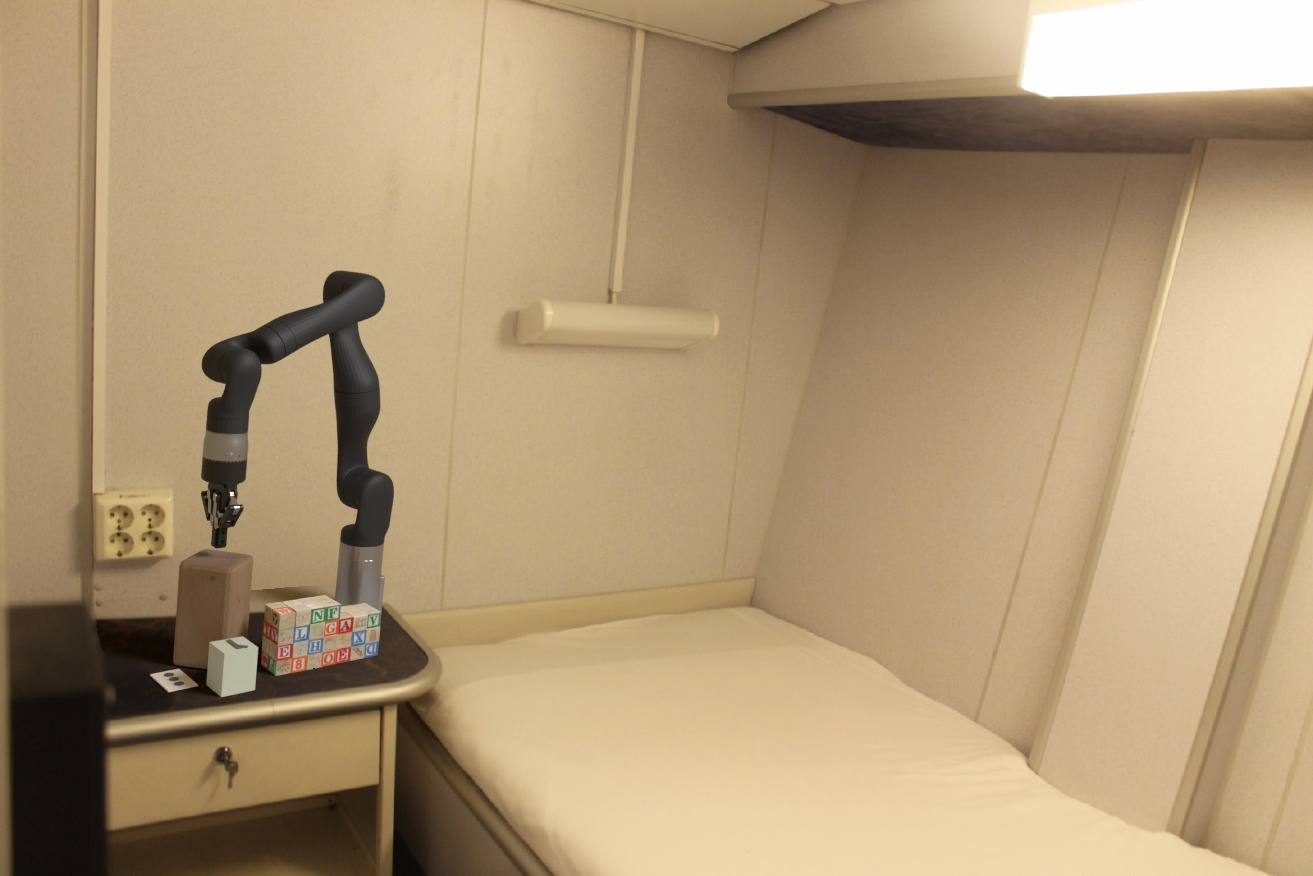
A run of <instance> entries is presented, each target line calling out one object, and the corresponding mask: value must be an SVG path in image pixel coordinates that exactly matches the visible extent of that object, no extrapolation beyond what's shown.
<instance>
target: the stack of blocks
mask: <svg viewBox="0 0 1313 876" xmlns="http://www.w3.org/2000/svg"><path fill="white" fill-rule="evenodd" d="M263 614H264V616H263V618H264V619H263V620H262V621H263V622H262V639H261V640H262V642H261V643H262V644H261V654H260V656H261V657H260V665H261V666H262V667H263V668H264V669H265V670H267V671H268V672H270V673H271V674H272V675H273V676H275V677H277V676H281V675H288V674H294V673H298V672H304V671H310V670H314V669H313V668H315V669H318V668H323V667H327V666H331V665H337V664H343V663H347V662H352V661H356V660H361V659H366V658H373V657H376V656H378V652H379V646H380V645H379V644H380V636H381V635H380V634H381V621H382V620H381V619H382V611H381V612H380V611H378V610H377V609H375V608H373V607H371V606H370V605H368V604H366V603H362V604H356V605H348V606H342V607H341V604H340V603H338V602H336V601H335V599H332V598H331V597H330V596H328V595H326V594H322V595H317V596H309V597H304V598H303V597H302V598H301V597H300V598H298V599H290V600H285V601H277V602H269V603H265V604H264V613H263Z"/></svg>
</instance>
